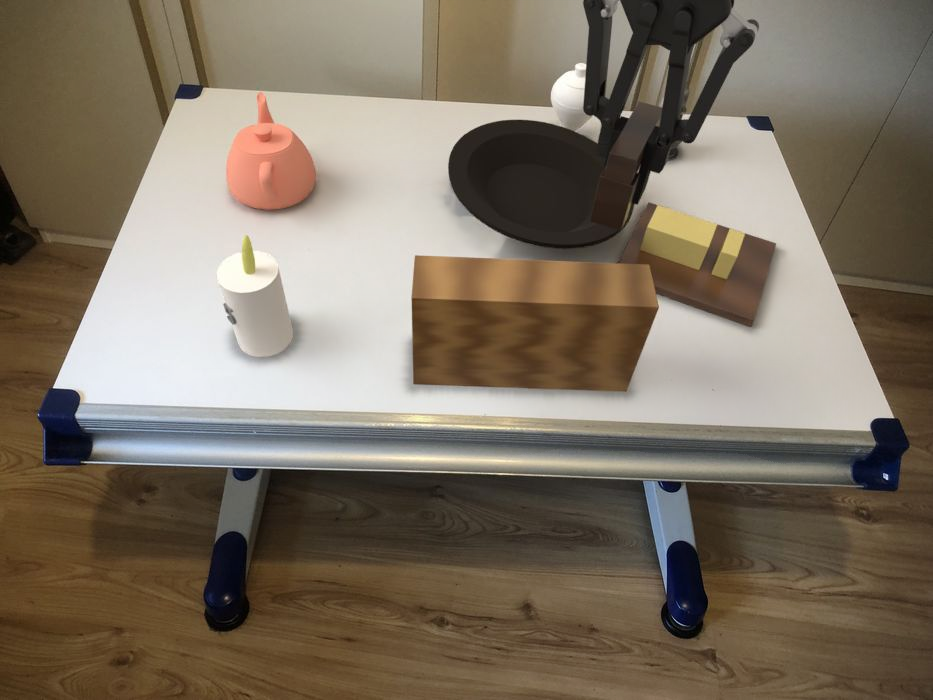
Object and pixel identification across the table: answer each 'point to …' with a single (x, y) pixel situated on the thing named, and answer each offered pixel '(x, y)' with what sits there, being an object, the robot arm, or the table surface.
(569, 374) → the wood grain block
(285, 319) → the candle
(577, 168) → the plate
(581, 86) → the spinning top
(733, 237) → the butter slice
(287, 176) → the teapot
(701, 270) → the board
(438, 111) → the table surface
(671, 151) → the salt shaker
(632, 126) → the brown and grey bar
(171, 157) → the table surface
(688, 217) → the butter block
